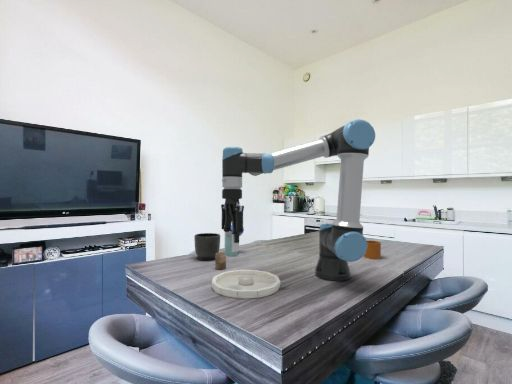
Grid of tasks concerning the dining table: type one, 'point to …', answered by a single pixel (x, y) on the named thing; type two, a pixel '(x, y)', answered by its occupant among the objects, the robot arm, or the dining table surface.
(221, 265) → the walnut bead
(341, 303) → the dining table surface
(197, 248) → the planter
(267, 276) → the round cream tray
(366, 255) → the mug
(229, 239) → the teal cylinder
